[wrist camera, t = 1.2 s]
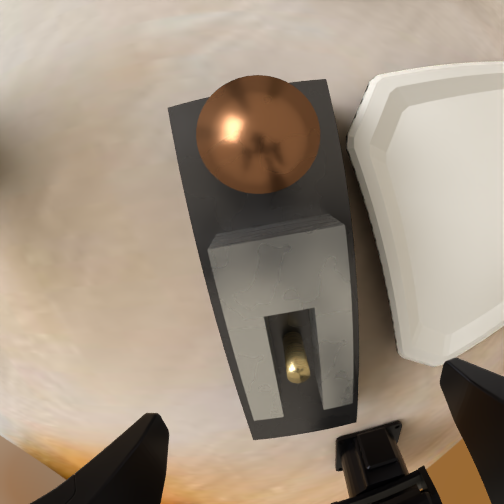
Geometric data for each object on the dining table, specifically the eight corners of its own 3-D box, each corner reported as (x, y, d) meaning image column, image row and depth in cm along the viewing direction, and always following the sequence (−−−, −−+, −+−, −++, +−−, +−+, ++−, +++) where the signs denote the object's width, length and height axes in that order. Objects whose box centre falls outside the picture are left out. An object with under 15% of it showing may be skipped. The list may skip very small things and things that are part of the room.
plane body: (343, 385, 20) (370, 466, 12) (254, 401, 21) (252, 487, 13) (310, 98, 15) (353, 46, 7) (188, 120, 15) (131, 86, 7)
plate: (315, 96, 15) (323, 86, 13) (515, 65, 12) (530, 61, 10) (393, 370, 20) (402, 387, 18) (547, 273, 18) (560, 280, 16)
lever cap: (342, 373, 15) (352, 403, 13) (254, 388, 15) (254, 420, 13) (328, 213, 13) (344, 225, 10) (216, 233, 13) (207, 249, 10)
